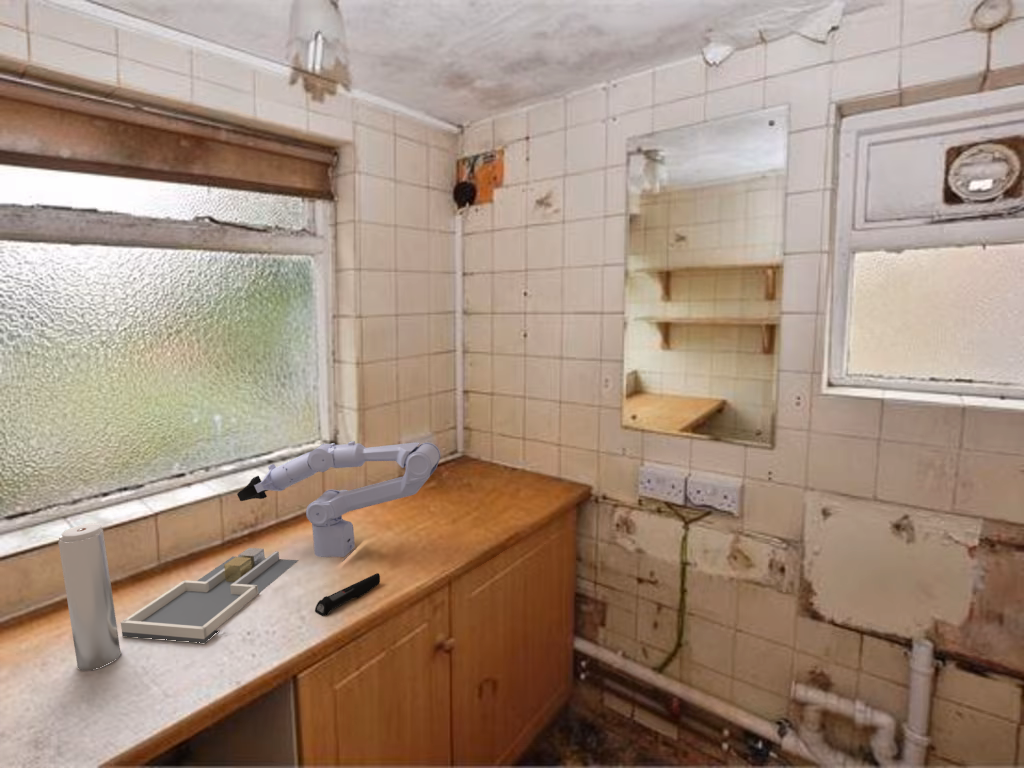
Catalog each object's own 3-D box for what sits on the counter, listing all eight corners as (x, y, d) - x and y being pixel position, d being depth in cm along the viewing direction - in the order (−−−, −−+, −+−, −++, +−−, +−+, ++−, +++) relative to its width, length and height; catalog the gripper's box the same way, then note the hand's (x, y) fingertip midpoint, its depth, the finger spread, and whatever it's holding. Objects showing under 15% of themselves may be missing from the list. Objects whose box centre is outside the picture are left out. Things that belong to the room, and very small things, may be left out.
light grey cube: (265, 564, 138) (263, 548, 137) (255, 572, 134) (253, 556, 134) (250, 563, 139) (248, 547, 138) (239, 571, 135) (238, 555, 134)
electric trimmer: (384, 588, 128) (384, 574, 127) (324, 618, 116) (323, 603, 115) (374, 583, 130) (373, 570, 130) (313, 612, 118) (312, 598, 118)
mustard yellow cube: (252, 574, 133) (250, 557, 133) (241, 582, 129) (239, 565, 129) (237, 573, 134) (235, 557, 133) (225, 581, 130) (224, 564, 129)
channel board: (298, 564, 140) (297, 552, 139) (204, 643, 108) (202, 629, 107) (233, 560, 143) (231, 548, 143) (122, 636, 111) (120, 622, 111)
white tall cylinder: (92, 650, 107) (73, 523, 103) (128, 647, 107) (110, 521, 104) (68, 672, 100) (47, 537, 97) (107, 669, 101) (87, 535, 97)
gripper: (301, 451, 150) (258, 472, 152) (270, 463, 135) (223, 486, 137) (312, 475, 150) (269, 496, 152) (283, 490, 135) (236, 512, 137)
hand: (248, 493), depth 145 cm, fingers open, 7 cm apart
